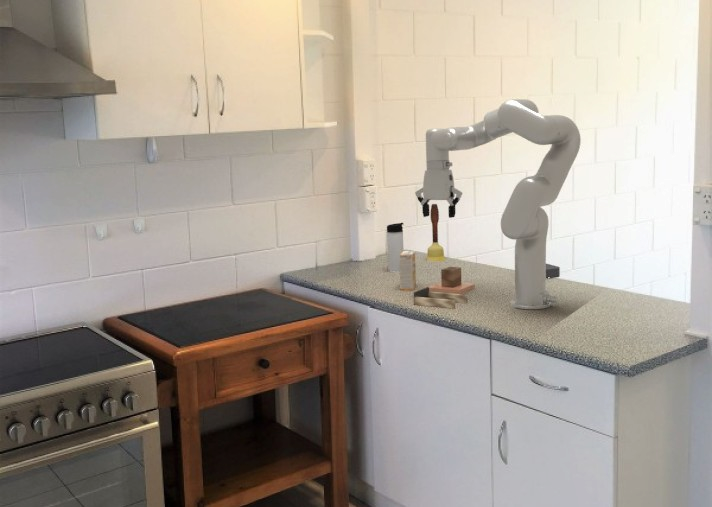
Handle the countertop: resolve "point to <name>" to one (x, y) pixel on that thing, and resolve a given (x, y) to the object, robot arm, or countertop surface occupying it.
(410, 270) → the supplement box
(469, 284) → the terracotta tile
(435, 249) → the handbell
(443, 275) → the walnut block
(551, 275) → the streaming box
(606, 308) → the countertop surface
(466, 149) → the robot arm
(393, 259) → the travel mug
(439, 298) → the birch chute
